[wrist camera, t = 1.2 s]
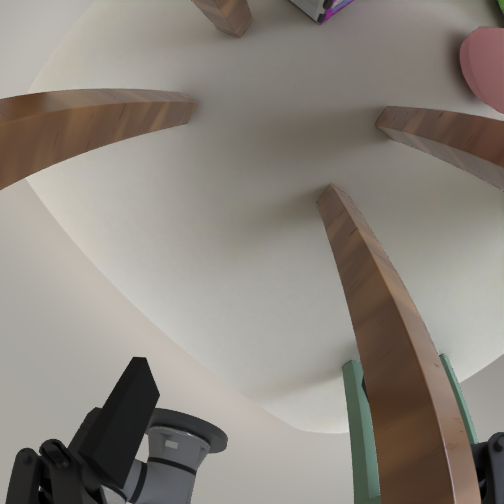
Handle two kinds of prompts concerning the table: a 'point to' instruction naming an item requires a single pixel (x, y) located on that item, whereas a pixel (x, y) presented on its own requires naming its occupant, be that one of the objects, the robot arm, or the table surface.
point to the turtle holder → (501, 5)
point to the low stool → (362, 431)
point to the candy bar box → (321, 8)
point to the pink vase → (485, 65)
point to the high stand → (343, 247)
